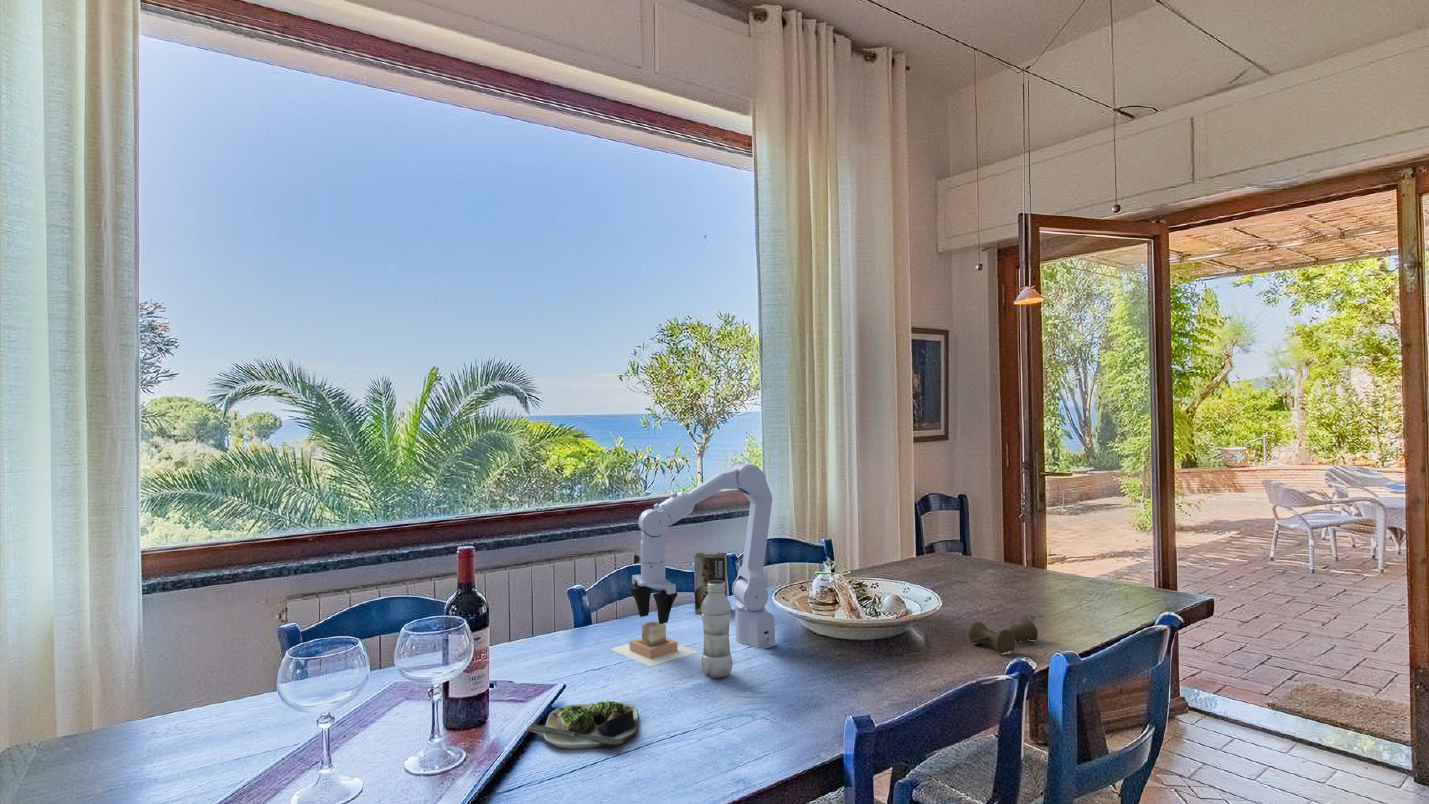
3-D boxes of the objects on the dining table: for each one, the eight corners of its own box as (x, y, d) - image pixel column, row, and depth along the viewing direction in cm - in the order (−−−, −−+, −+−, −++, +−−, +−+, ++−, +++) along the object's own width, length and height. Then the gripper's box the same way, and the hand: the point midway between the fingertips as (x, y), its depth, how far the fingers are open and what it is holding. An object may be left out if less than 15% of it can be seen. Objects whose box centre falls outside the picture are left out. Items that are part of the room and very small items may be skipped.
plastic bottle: (729, 682, 145) (729, 586, 146) (698, 680, 147) (697, 585, 147) (735, 671, 152) (734, 579, 152) (704, 669, 153) (704, 578, 153)
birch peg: (666, 650, 163) (665, 624, 163) (652, 654, 160) (652, 628, 160) (655, 646, 166) (655, 620, 166) (642, 649, 163) (641, 624, 163)
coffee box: (728, 608, 202) (727, 552, 202) (726, 614, 195) (725, 556, 196) (696, 607, 203) (696, 552, 203) (694, 613, 196) (693, 556, 196)
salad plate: (519, 760, 114) (519, 732, 114) (536, 713, 132) (536, 689, 132) (638, 753, 116) (637, 725, 116) (638, 708, 134) (638, 684, 134)
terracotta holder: (677, 650, 163) (677, 641, 163) (649, 658, 157) (649, 649, 157) (656, 642, 169) (656, 634, 169) (629, 650, 163) (629, 641, 163)
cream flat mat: (698, 656, 162) (698, 651, 162) (649, 671, 152) (649, 666, 152) (656, 639, 173) (656, 635, 174) (609, 652, 164) (609, 648, 164)
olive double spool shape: (1047, 648, 167) (988, 660, 158) (1014, 638, 176) (956, 648, 166) (1047, 623, 167) (988, 633, 158) (1013, 614, 176) (955, 623, 167)
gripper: (621, 559, 166) (621, 616, 166) (658, 568, 155) (658, 629, 155) (645, 554, 171) (645, 610, 170) (682, 563, 160) (683, 623, 160)
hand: (653, 619), depth 163 cm, fingers open, 7 cm apart
